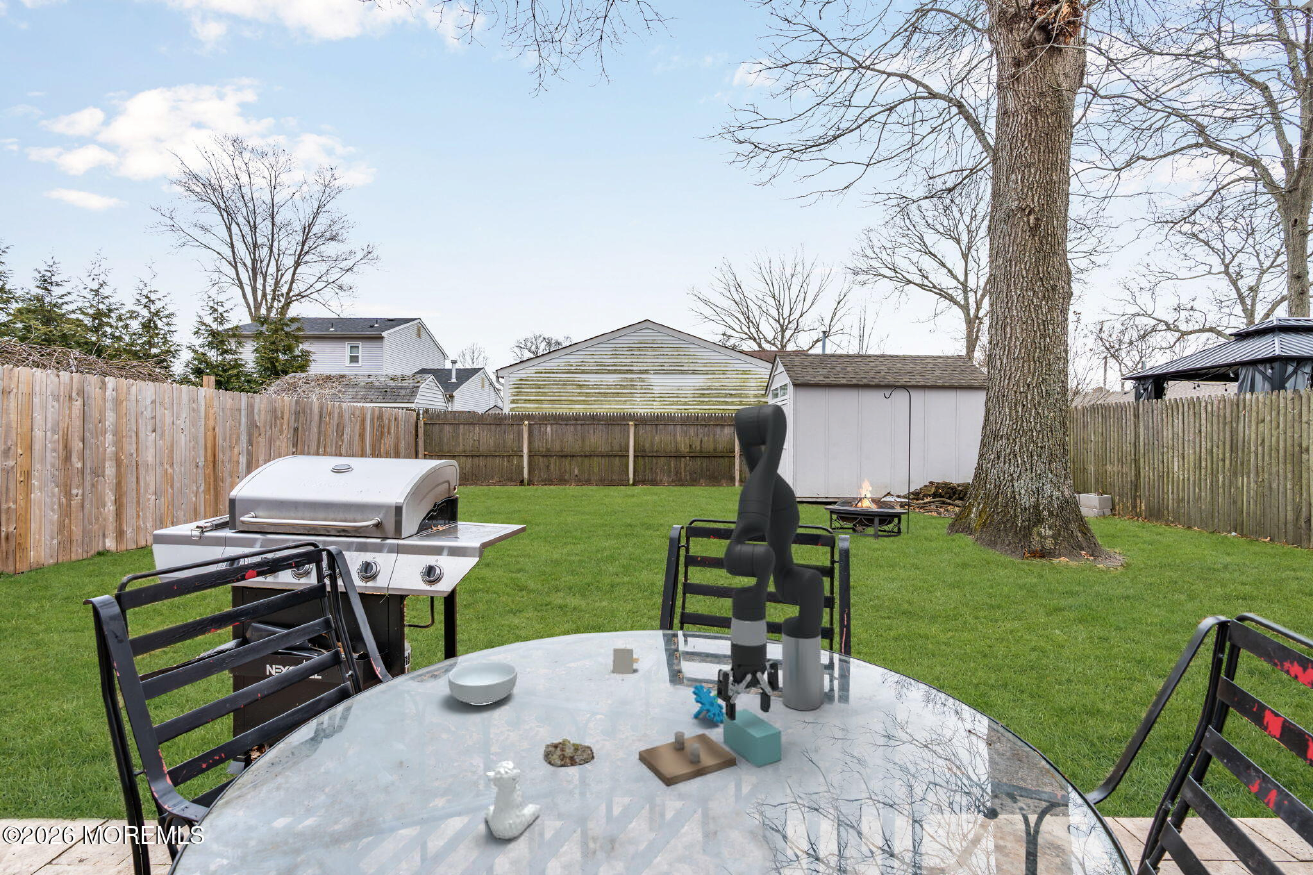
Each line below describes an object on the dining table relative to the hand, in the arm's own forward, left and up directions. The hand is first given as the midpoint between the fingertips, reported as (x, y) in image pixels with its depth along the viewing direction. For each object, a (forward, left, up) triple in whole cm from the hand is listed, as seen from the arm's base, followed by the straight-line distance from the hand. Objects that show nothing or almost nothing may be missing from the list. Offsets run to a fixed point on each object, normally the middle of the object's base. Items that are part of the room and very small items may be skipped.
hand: (748, 715), depth 141 cm
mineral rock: (+34, -16, -8) cm, 38 cm away
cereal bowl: (+42, -54, -8) cm, 69 cm away
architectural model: (+3, -53, -8) cm, 53 cm away
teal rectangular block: (-1, 0, -8) cm, 8 cm away
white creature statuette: (+51, +1, -8) cm, 52 cm away
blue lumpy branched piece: (-1, -17, -8) cm, 19 cm away
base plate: (+13, -3, -8) cm, 16 cm away
